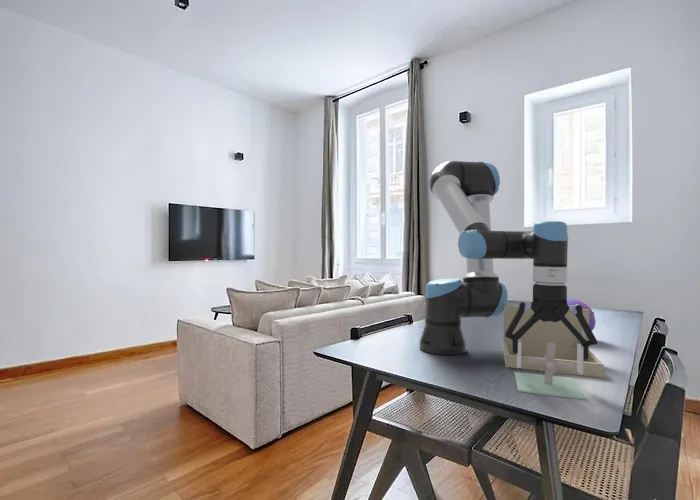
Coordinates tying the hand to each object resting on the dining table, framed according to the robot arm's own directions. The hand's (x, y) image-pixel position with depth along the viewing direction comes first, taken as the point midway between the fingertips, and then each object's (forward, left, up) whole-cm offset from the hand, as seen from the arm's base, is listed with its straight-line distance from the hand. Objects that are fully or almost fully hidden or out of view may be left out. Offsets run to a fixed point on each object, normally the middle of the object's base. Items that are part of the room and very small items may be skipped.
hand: (548, 369), depth 95 cm
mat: (0, 0, -4) cm, 4 cm away
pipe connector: (0, 0, -4) cm, 4 cm away
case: (+3, +20, -4) cm, 20 cm away
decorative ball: (+16, +59, -4) cm, 61 cm away
